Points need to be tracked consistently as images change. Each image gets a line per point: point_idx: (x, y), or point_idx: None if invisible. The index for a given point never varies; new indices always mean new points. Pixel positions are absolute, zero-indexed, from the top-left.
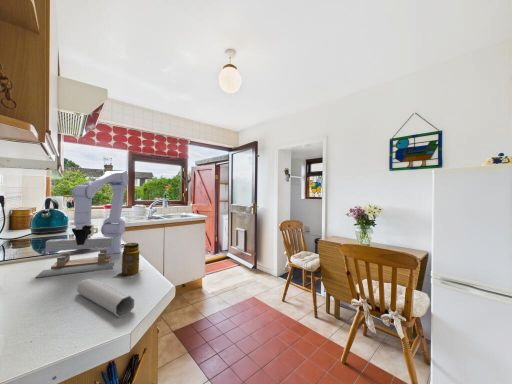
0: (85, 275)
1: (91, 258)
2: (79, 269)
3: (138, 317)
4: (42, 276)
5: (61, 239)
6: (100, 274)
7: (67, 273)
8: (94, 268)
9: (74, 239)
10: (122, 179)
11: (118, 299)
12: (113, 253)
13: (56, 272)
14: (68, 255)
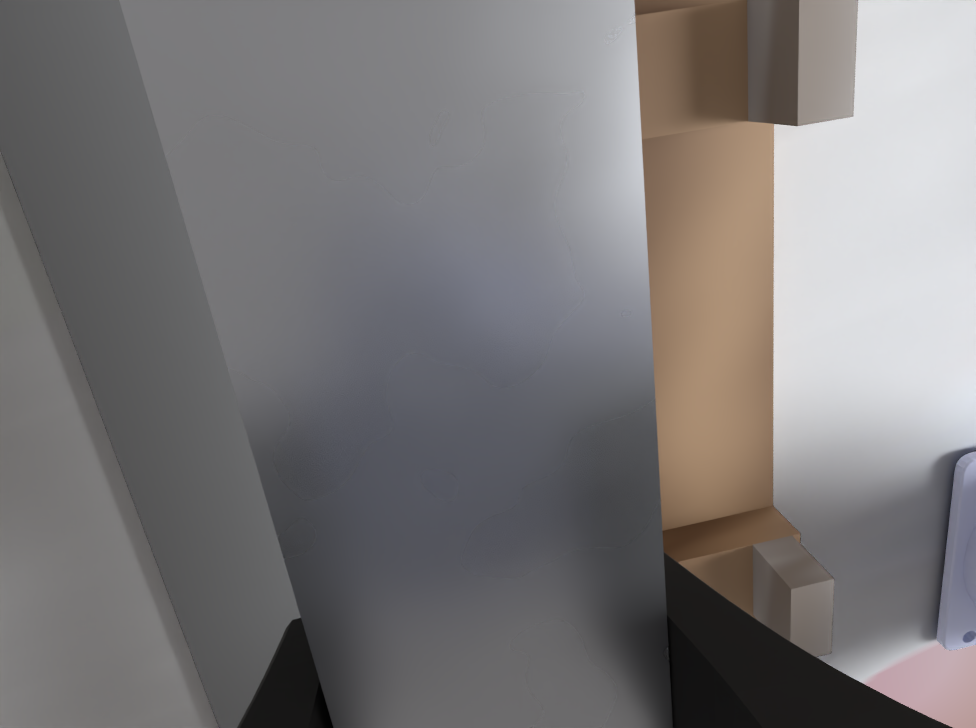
0: (2, 583)
1: (722, 421)
2: (242, 436)
3: None
4: None
5: (538, 147)
6: (24, 725)
7: (78, 346)
8: (249, 601)
9: (442, 602)
10: None
11: None
12: (945, 573)
13: (141, 165)
14: (771, 115)
